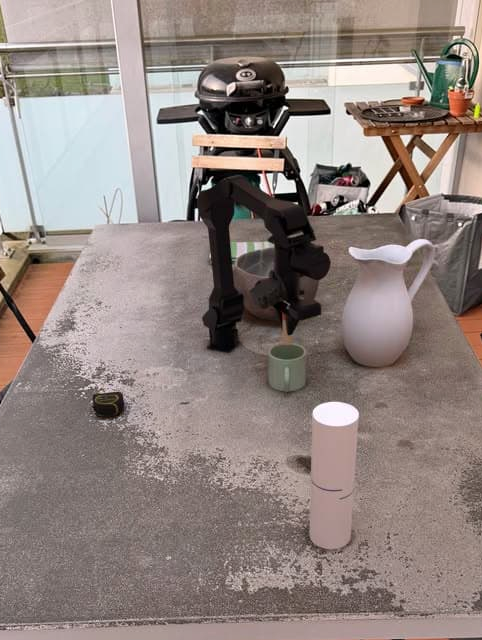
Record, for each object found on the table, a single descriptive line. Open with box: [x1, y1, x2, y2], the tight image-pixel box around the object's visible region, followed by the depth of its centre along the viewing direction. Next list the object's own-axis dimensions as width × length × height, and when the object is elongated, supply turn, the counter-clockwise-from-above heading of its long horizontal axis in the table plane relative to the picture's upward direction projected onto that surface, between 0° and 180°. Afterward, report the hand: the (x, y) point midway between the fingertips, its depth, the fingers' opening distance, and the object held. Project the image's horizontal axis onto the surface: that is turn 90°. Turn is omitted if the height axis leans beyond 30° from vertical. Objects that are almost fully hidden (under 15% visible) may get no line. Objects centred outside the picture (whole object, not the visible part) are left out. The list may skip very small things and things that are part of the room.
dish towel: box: [208, 241, 274, 265], centre depth 243 cm, size 18×23×3 cm
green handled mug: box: [267, 342, 307, 393], centre depth 169 cm, size 12×9×8 cm
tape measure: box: [92, 391, 125, 417], centre depth 163 cm, size 7×7×4 cm
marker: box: [282, 313, 292, 345], centre depth 165 cm, size 2×2×8 cm
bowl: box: [232, 247, 320, 321], centre depth 201 cm, size 24×24×15 cm
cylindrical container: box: [308, 401, 360, 550], centre depth 121 cm, size 7×7×25 cm
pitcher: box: [341, 238, 436, 368], centre depth 175 cm, size 24×17×28 cm
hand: (287, 333), depth 165 cm, fingers closed on marker, 2 cm apart
